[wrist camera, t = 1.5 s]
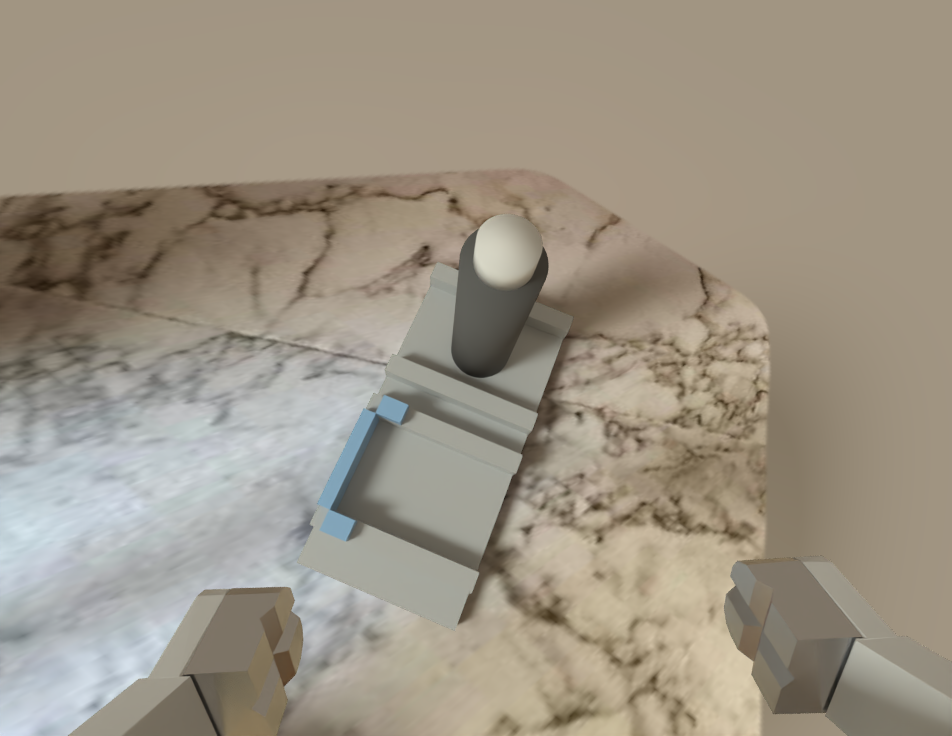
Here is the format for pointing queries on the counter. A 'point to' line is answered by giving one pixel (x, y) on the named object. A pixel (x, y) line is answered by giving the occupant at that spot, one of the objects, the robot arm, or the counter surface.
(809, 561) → the robot arm
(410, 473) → the white holder base
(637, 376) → the counter surface
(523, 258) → the grey bottle
